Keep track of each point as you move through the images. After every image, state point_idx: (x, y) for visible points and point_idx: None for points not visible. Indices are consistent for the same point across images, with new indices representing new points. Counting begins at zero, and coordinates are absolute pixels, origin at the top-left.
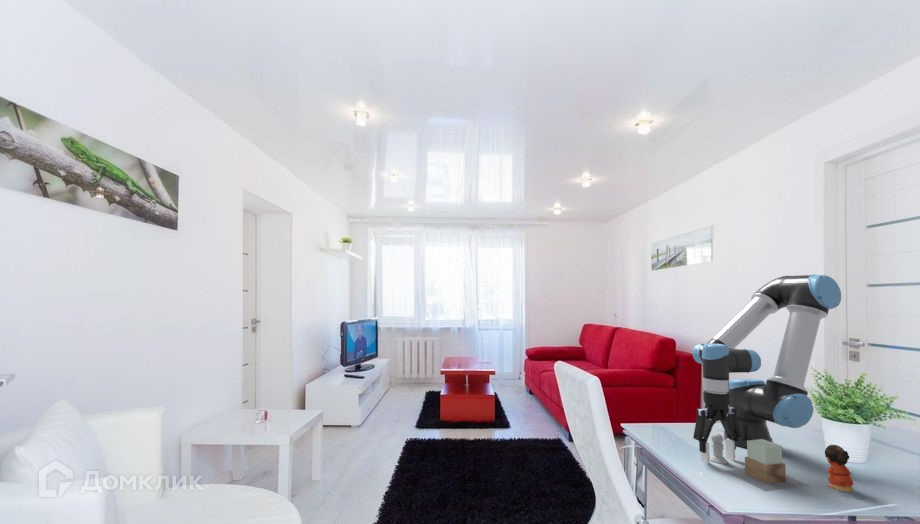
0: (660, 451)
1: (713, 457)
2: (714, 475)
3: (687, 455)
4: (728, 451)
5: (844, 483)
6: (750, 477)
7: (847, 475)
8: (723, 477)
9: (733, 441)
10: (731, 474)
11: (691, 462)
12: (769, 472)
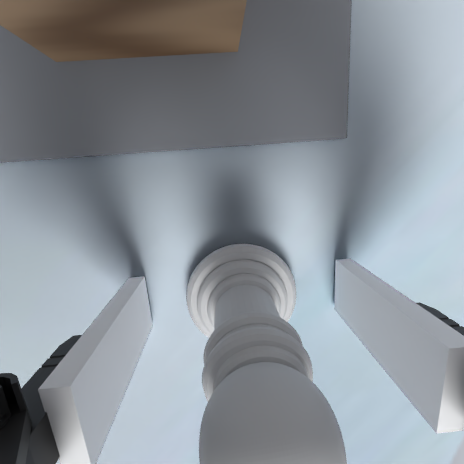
0: (444, 449)
1: (281, 306)
2: (450, 95)
3: (346, 393)
4: (132, 345)
5: None
6: None
7: None
8: (420, 51)
9: (58, 385)
10: (348, 61)
11: None
12: None
